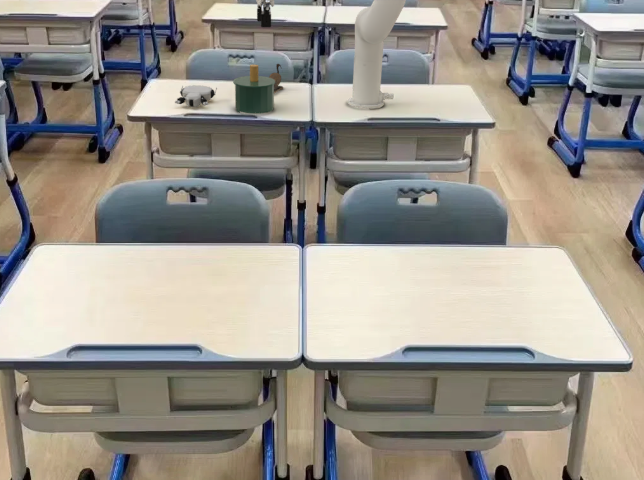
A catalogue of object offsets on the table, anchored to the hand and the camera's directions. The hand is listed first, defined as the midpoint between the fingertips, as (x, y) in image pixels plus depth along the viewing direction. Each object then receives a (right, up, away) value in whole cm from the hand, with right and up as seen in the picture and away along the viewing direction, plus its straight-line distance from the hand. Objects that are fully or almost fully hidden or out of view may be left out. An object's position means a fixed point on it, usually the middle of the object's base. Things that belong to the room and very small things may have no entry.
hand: (264, 24), depth 265 cm
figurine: (+2, -13, +30) cm, 33 cm away
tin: (-4, -26, +8) cm, 27 cm away
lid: (-3, -18, +3) cm, 19 cm away
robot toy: (-24, -23, +12) cm, 35 cm away
